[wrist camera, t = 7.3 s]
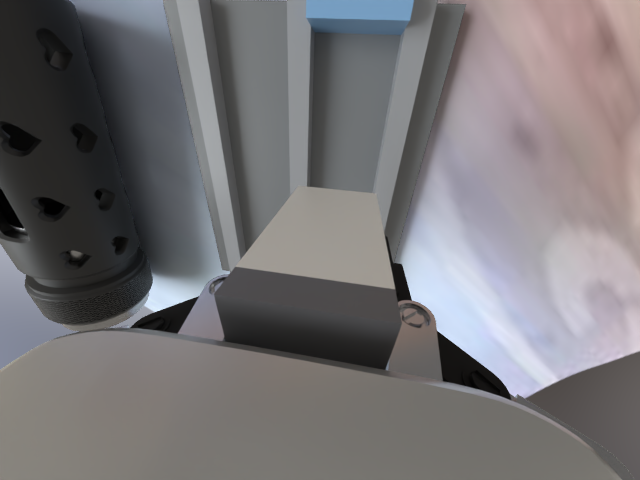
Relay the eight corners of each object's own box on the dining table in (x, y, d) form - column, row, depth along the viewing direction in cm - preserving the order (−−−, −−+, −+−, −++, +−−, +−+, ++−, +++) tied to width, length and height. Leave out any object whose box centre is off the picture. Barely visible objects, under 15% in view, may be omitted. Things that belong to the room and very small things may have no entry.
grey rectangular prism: (298, 185, 12) (213, 294, 5) (376, 193, 11) (402, 323, 4) (298, 275, 15) (245, 418, 8) (359, 283, 14) (358, 442, 8)
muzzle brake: (126, 19, 17) (-109, -68, 9) (177, 281, 32) (109, 348, 23) (10, -9, 18) (-335, -121, 9) (113, 265, 32) (23, 325, 24)
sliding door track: (172, 4, 16) (124, -23, 13) (459, 10, 14) (490, -20, 11) (226, 265, 29) (208, 286, 26) (384, 287, 27) (388, 313, 24)
